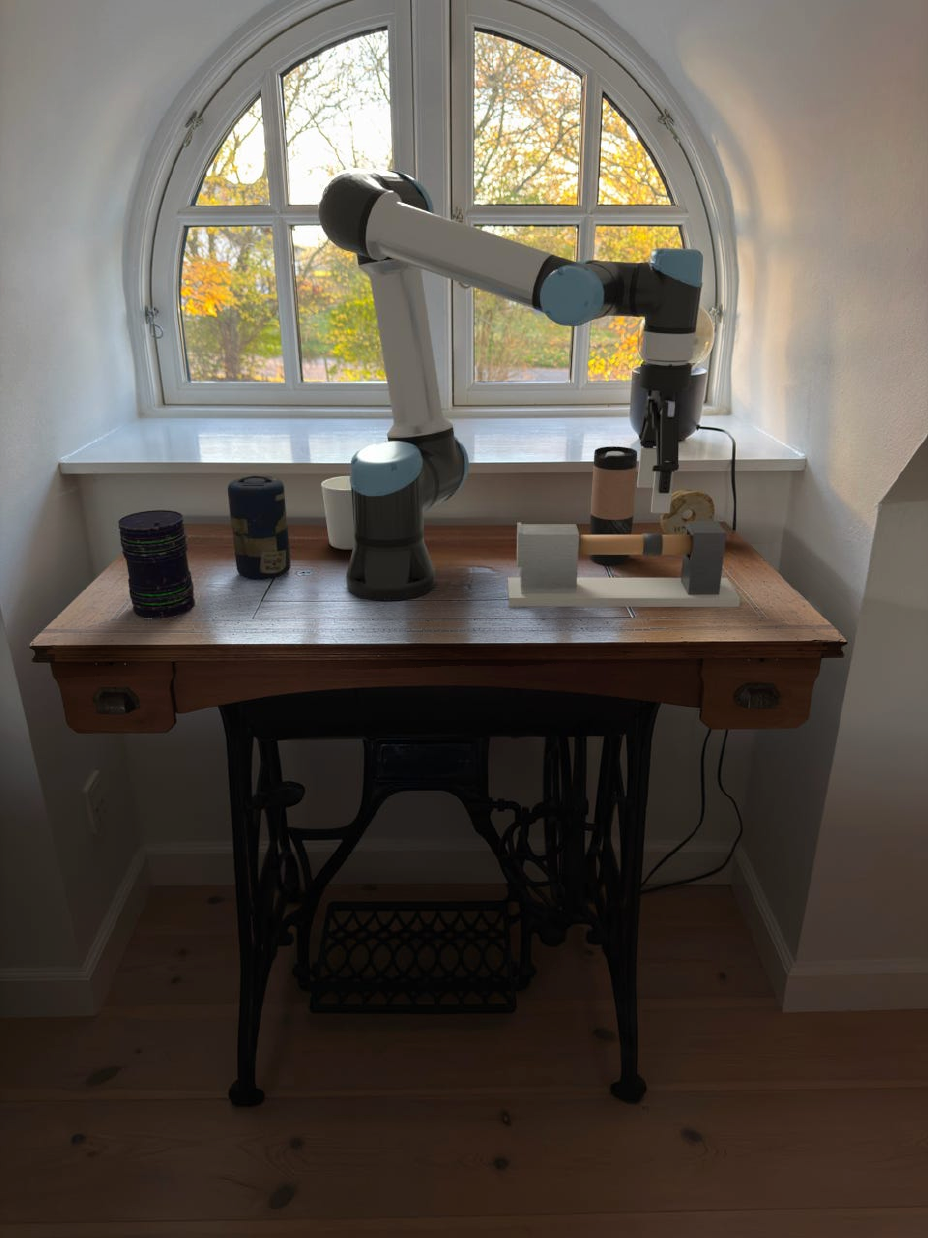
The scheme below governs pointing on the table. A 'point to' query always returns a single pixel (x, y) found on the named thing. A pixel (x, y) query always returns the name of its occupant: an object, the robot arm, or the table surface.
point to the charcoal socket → (704, 558)
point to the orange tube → (635, 544)
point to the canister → (259, 527)
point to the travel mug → (613, 496)
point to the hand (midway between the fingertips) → (652, 499)
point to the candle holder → (339, 511)
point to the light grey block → (548, 558)
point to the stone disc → (681, 503)
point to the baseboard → (624, 594)
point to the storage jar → (157, 563)
